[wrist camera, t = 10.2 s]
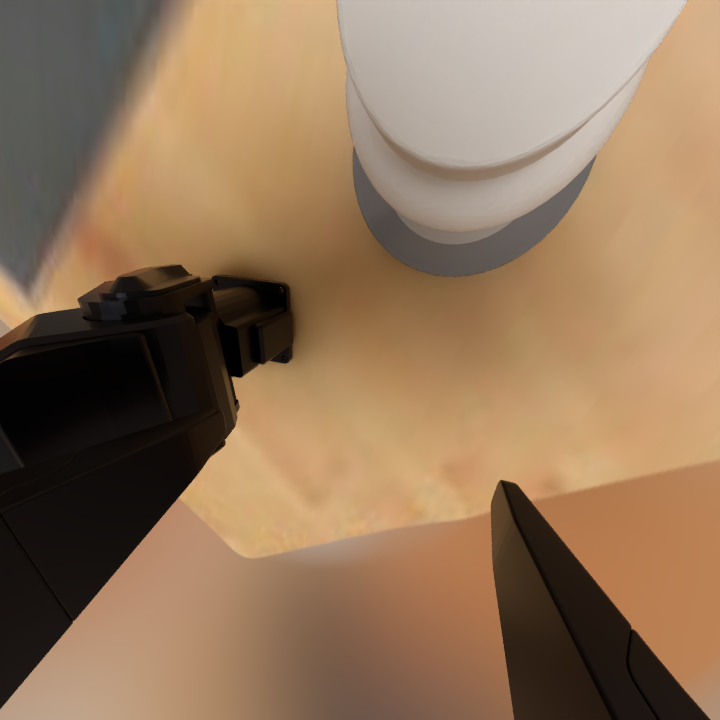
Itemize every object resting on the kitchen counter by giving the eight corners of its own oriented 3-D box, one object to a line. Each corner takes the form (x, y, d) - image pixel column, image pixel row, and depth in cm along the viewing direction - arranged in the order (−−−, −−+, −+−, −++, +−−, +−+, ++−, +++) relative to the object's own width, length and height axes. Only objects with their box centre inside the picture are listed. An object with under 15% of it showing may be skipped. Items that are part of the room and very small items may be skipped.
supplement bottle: (391, 101, 15) (207, -315, 4) (538, 52, 13) (1256, -1356, 1) (405, 240, 17) (323, 260, 6) (531, 218, 15) (776, 182, 4)
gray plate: (352, 264, 20) (347, 266, 19) (364, 17, 15) (358, 2, 14) (546, 284, 17) (551, 287, 16) (643, -9, 12) (660, -30, 11)
